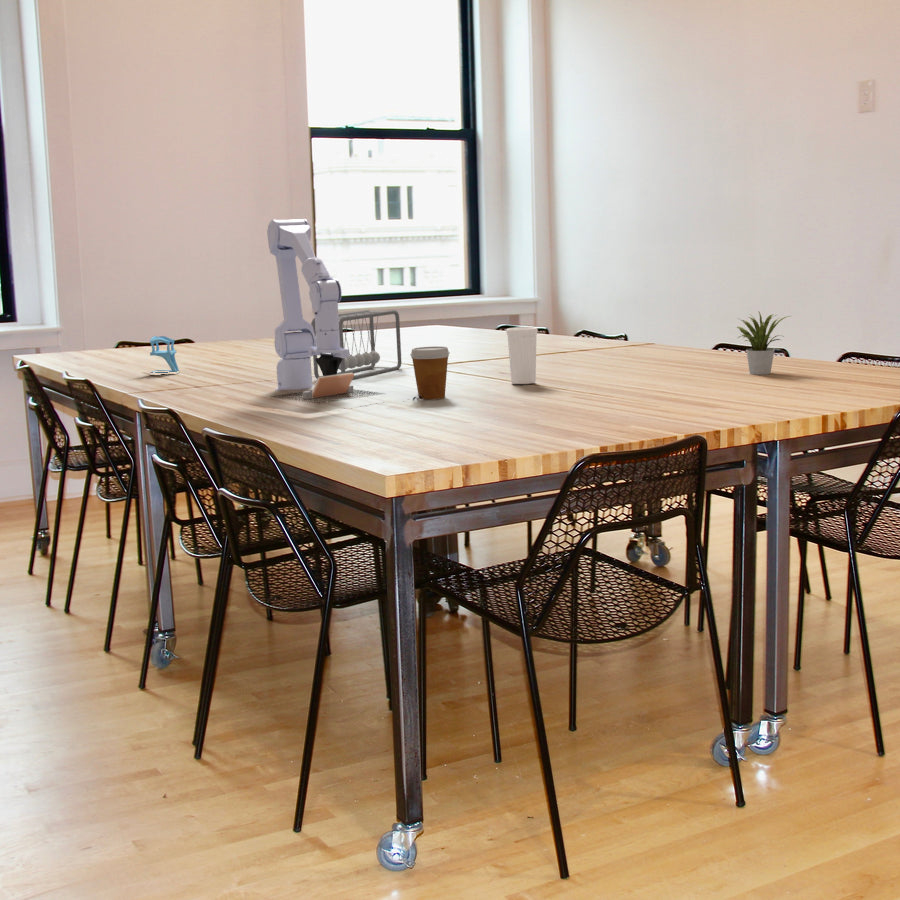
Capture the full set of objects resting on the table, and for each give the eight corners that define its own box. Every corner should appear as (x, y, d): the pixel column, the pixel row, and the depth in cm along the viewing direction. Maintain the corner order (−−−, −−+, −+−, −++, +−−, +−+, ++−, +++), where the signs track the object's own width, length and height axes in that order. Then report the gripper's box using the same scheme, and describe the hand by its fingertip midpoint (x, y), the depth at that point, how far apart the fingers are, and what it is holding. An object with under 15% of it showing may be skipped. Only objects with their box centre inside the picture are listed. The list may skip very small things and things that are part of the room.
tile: (310, 394, 269) (318, 376, 266) (344, 389, 276) (352, 372, 272) (312, 397, 269) (320, 379, 265) (346, 392, 275) (354, 375, 272)
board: (269, 400, 275) (268, 390, 274) (335, 390, 288) (334, 380, 287) (319, 408, 258) (318, 397, 258) (387, 397, 271) (386, 387, 271)
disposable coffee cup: (417, 402, 262) (415, 351, 260) (408, 396, 271) (405, 348, 269) (456, 398, 264) (454, 348, 262) (445, 394, 273) (443, 345, 271)
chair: (175, 375, 341) (172, 336, 338) (148, 376, 341) (145, 337, 339) (181, 372, 348) (178, 334, 346) (155, 373, 348) (152, 335, 346)
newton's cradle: (344, 382, 306) (340, 317, 303) (313, 381, 311) (309, 317, 308) (402, 369, 331) (399, 309, 328) (373, 368, 337) (370, 309, 333)
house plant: (787, 369, 292) (788, 306, 289) (798, 375, 279) (799, 310, 276) (732, 370, 294) (732, 308, 291) (740, 377, 280) (741, 312, 277)
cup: (537, 385, 281) (535, 329, 278) (505, 386, 283) (503, 330, 280) (541, 381, 289) (539, 326, 286) (510, 381, 291) (508, 327, 288)
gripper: (297, 330, 271) (300, 385, 274) (330, 332, 261) (334, 390, 263) (320, 327, 276) (324, 382, 278) (355, 330, 265) (358, 386, 268)
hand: (330, 385), depth 271 cm, fingers closed, pressing on tile
